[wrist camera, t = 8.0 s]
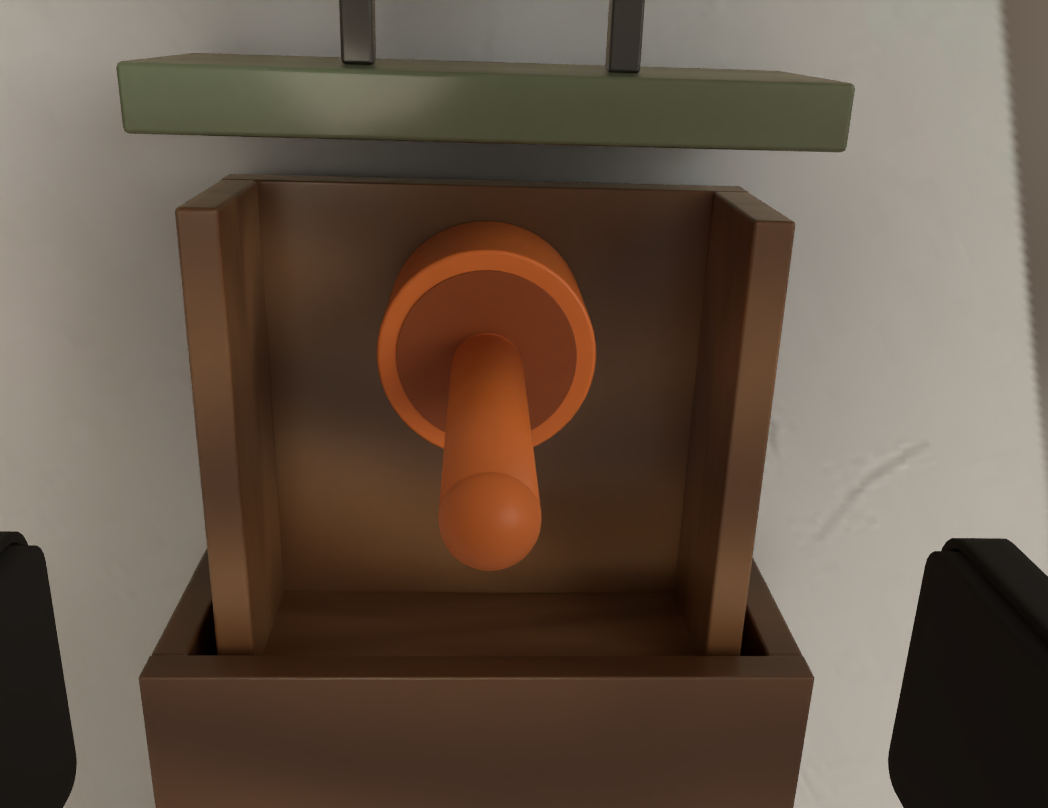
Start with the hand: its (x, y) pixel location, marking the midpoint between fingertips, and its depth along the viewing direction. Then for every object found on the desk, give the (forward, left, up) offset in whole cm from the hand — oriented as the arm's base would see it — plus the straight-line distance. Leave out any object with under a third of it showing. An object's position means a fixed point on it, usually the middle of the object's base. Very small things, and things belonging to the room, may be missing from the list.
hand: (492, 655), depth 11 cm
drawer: (-1, -1, -14) cm, 14 cm away
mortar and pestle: (0, 0, -13) cm, 13 cm away
